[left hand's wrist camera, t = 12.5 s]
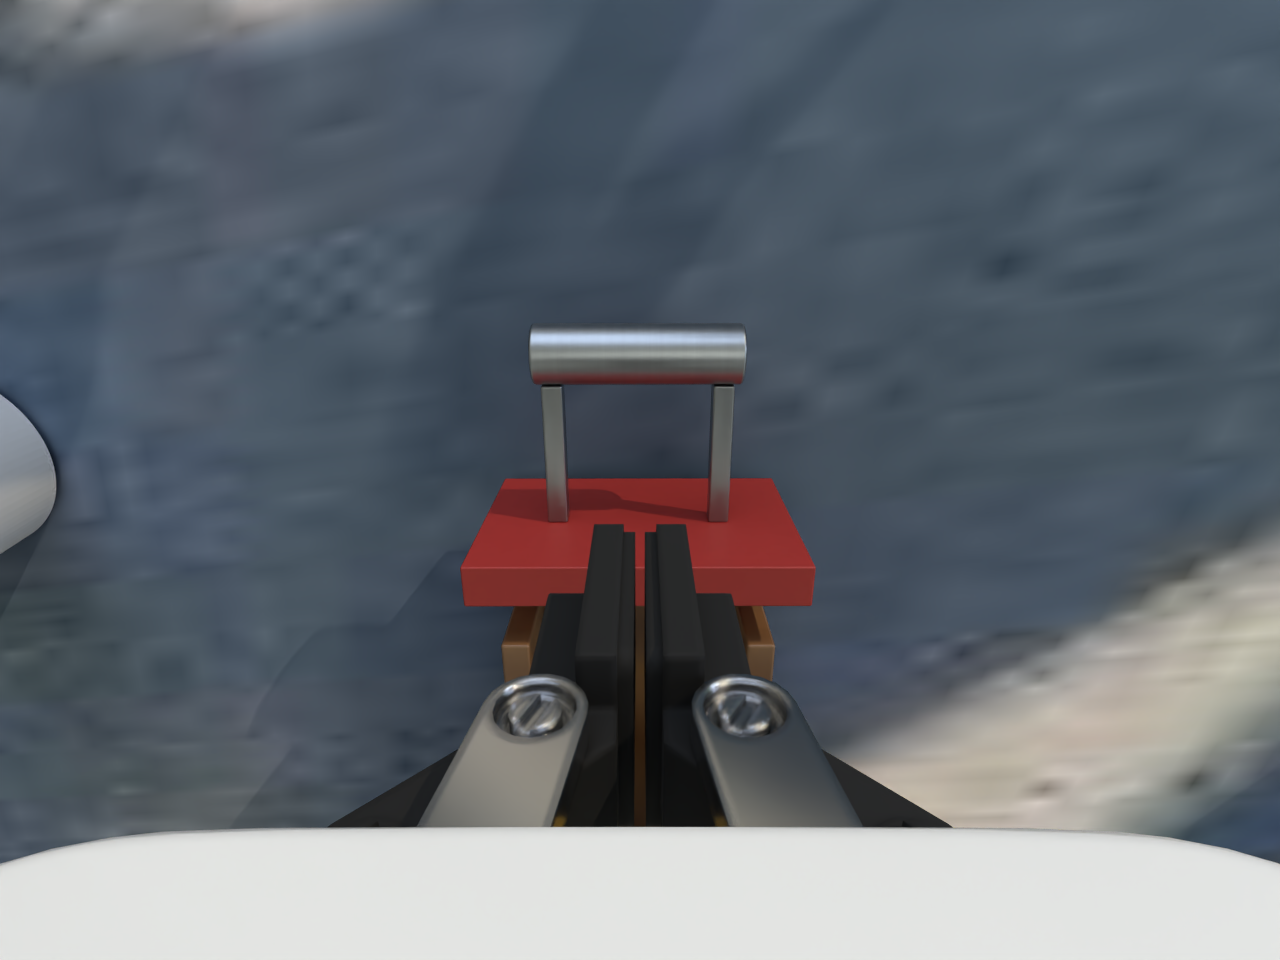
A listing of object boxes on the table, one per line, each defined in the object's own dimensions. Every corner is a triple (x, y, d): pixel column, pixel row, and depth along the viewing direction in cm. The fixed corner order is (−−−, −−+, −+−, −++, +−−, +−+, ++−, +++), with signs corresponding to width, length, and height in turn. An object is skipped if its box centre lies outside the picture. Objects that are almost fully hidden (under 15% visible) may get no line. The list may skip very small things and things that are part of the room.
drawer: (491, 307, 22) (434, 343, 16) (784, 307, 22) (839, 343, 16) (534, 842, 30) (508, 999, 24) (744, 842, 30) (770, 998, 24)
